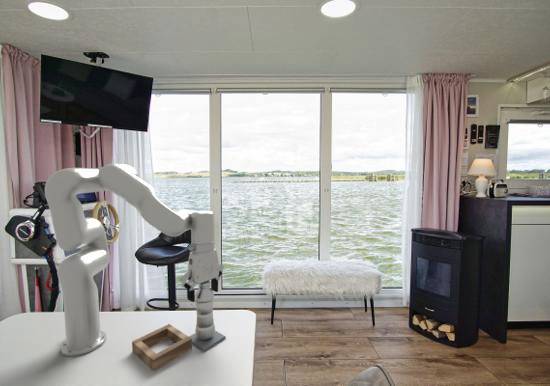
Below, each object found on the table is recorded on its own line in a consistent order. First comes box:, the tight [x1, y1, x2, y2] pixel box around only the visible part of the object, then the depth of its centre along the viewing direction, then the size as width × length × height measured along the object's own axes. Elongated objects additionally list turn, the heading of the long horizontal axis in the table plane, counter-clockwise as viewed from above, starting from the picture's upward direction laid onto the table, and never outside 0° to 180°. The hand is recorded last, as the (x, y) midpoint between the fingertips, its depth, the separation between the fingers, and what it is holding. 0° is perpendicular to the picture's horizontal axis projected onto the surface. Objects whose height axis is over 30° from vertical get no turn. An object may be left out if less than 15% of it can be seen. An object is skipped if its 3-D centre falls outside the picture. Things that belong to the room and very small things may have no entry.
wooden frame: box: [131, 323, 193, 372], centre depth 89 cm, size 14×13×4 cm
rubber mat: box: [189, 330, 226, 353], centre depth 94 cm, size 10×9×1 cm
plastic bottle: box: [194, 280, 216, 340], centre depth 94 cm, size 6×7×20 cm
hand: (203, 295), depth 93 cm, fingers open, 9 cm apart
